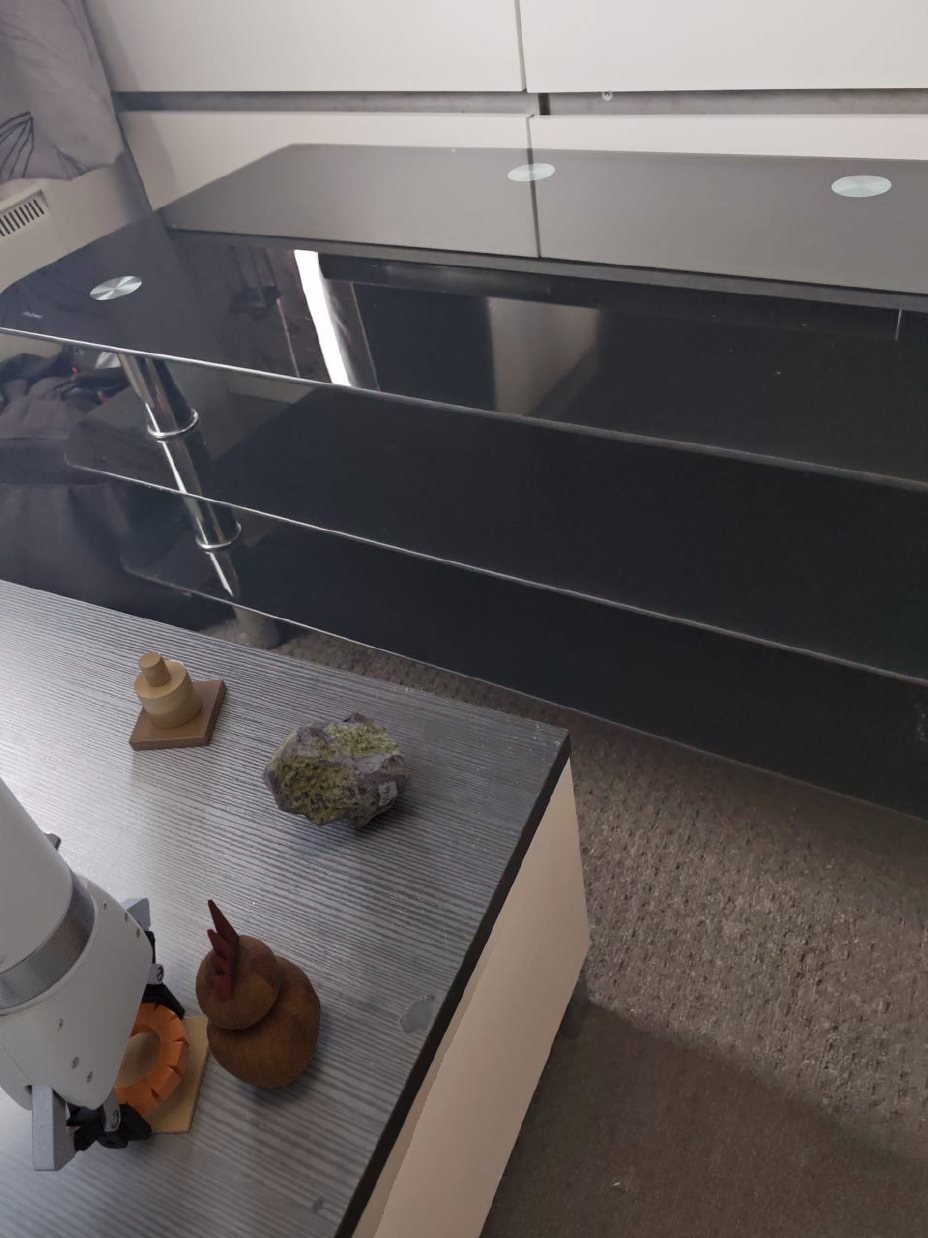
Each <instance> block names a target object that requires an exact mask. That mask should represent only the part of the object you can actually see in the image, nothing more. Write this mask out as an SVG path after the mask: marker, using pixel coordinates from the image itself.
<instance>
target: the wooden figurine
mask: <svg viewBox="0 0 928 1238" xmlns="http://www.w3.org/2000/svg"><path fill="white" fill-rule="evenodd" d="M207 907H208V910H209V913H210V916H211V919H212V923H213V925H214V928H215V930H214V929H213V928H207V929H206V934H207V938H208V939H209V942H210V944H211V946H212V949H211V950H209V951H208V952H207V954H206V955H205V956H204V957H203V959H202V960H201V962H200V964H199V968H198V970H197V974H196V977H195V995H196V996H195V997H196V999H197V1002H198V1006H199V1008H200V1010H201V1011H202V1013H203V1014H204V1016H205V1017H207V1018H208V1023H207V1028H206V1030H207V1038H208V1042H209V1045H210V1049H209V1050H210V1052H211V1055H212V1057H213V1058H214V1060H215V1061H216V1063H218V1064H219V1066H221V1067H222V1068H223V1069H224V1070H226V1071H227V1072H228V1073H229V1074H230V1075H232V1076H233V1077H234V1078H236V1079H238V1080H239V1081H241V1082H242V1083H245V1084H247V1085H250V1086H255V1087H258V1088H262V1089H270V1088H271V1089H274V1088H282V1087H285V1086H287V1085H288V1084H291V1083H292V1082H294V1081H296V1080H297V1079H298V1078H299V1077H300V1076H301V1075H302V1073H304V1071H305V1070H306V1069H307V1067H308V1066H309V1064H310V1062H311V1060H312V1058H313V1057H314V1055H315V1053H316V1052H315V1051H316V1048H317V1044H318V1042H319V1041H318V1040H319V1034H320V1024H321V1011H322V1008H321V1000H320V998H319V996H318V994H317V991H316V990H315V989H314V986H313V984H312V983H311V980H310V978H309V976H308V975H307V974H306V972H305V971H304V970H303V969H301V968H300V967H299V966H297V965H296V964H295V963H293V962H292V961H290V960H289V959H287V958H285V957H284V956H281V955H278V954H275V953H274V951H273V950H272V949H271V947H269V946H268V945H267V944H266V943H265V942H264V941H262V940H261V939H259V938H257V937H255V936H250V935H247V934H238V933H237V931H236V930H235V929H234V927H233V925H232V924H231V923H230V921H229V920H228V919H227V918H226V916H225V914H223V912H222V911H221V909H220V908H219V907H218V905H217V904H216V902H215V901H214V900H213V899H212V898H210V899H207Z"/></svg>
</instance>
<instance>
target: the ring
mask: <svg viewBox="0 0 928 1238" xmlns="http://www.w3.org/2000/svg"><path fill="white" fill-rule="evenodd" d="M138 1033H156V1034H157V1035H158V1036H159V1038H160V1042H161V1048H160V1052H159V1055H158V1059H157V1062H156V1063H155V1064H154V1066H153V1067H152V1068H151V1069H150V1071H149V1072H148V1073H147V1074H146V1075H145V1077H144V1078H142V1079H141V1080H139V1081H137V1082H135V1083H133V1084H132V1085H130V1086H128V1087H114V1089H115V1093H116V1097H117V1100H118V1104H128V1105H130V1106H131V1107H132V1108H133V1109H134V1110H135V1111H136V1112H137V1113H138V1114H139V1115H140V1116H142V1115H143V1114H145V1113H147V1112H149V1111H151V1110H152V1109H154V1108H156V1107H158V1106H159V1105H160V1103H159V1098H158V1096H159V1097H160V1098H161V1099H163V1100H164V1101H166V1099H167V1098H168V1097H169V1095H170V1094H171V1093H172V1092H173V1090H174V1089H175V1088H176V1086H177V1085H178V1084H179V1083H180V1081H181V1078H180V1077H179V1076H178V1075H177V1074H184V1073H185V1069H186V1066H187V1062H188V1058H189V1054H190V1050H189V1049H188V1048H187V1047H189V1046H190V1042H189V1039H188V1035H187V1031H186V1028H185V1026H184V1025H183V1024H182V1022H181V1020H180V1019H179V1018H178V1016H177V1015H176V1014H175V1013H174V1012H172V1011H171V1010H170V1009H168V1008H167V1007H165V1006H164V1005H162V1004H160V1005H159V1006H158V1005H157V1004H156V1003H140V1007H139V1010H138V1013H137V1016H136V1019H135V1023H134V1026H133V1029H132V1032H131V1035H130V1038H131V1037H133V1036H135V1035H137V1034H138Z"/></svg>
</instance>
